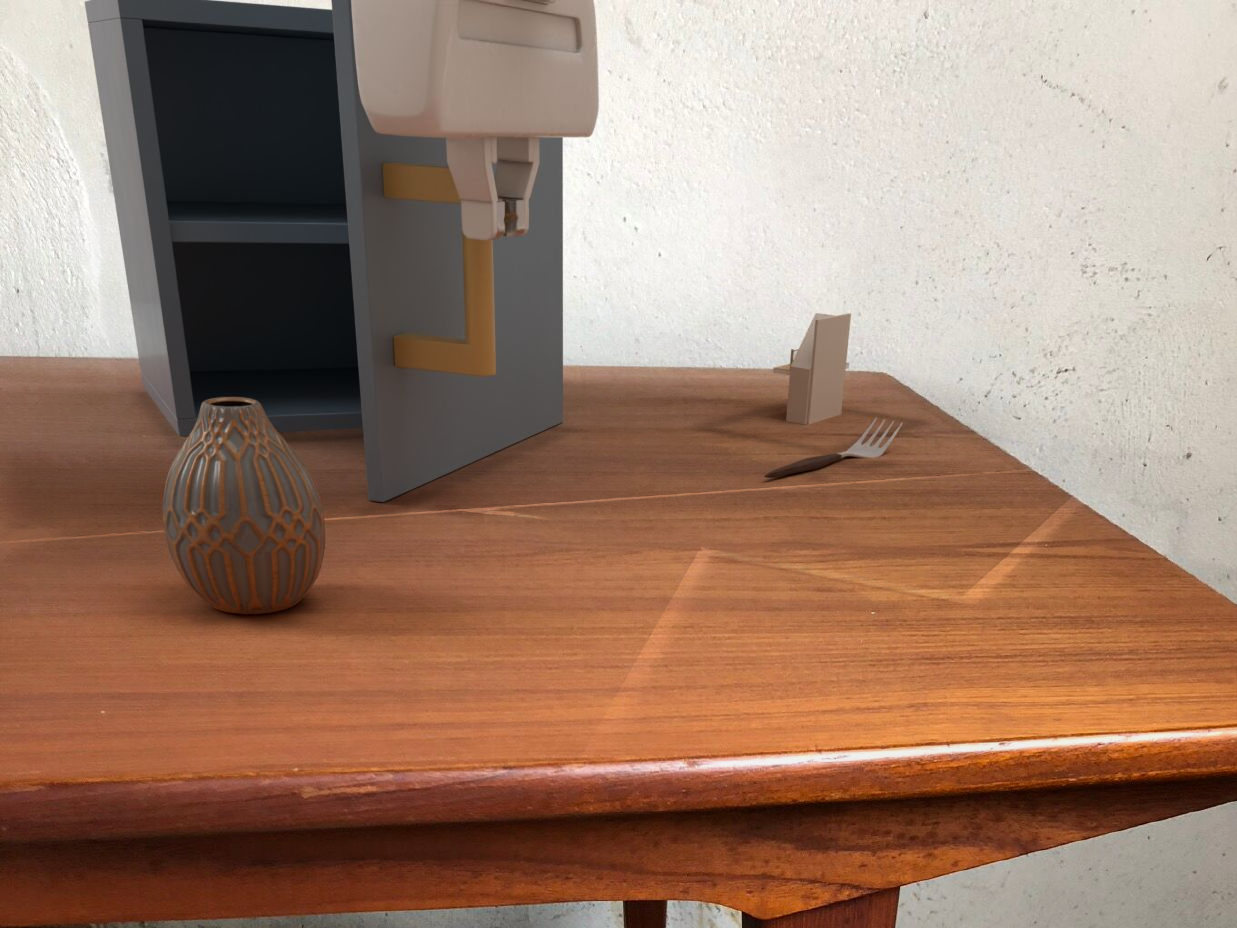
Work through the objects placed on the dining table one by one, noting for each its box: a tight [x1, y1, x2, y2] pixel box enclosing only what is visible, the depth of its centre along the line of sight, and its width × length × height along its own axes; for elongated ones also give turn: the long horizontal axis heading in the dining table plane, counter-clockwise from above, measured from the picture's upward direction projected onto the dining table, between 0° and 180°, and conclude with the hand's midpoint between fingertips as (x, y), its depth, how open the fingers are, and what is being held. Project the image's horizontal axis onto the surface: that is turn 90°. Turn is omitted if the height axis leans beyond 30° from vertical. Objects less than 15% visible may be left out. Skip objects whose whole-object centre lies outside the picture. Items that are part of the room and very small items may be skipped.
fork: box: [763, 417, 904, 479], centre depth 93 cm, size 3×16×2 cm, turn 144°
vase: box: [162, 397, 326, 615], centre depth 61 cm, size 7×7×9 cm
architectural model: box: [772, 312, 852, 425], centre depth 105 cm, size 3×7×7 cm, turn 148°
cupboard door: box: [331, 0, 564, 503], centre depth 82 cm, size 7×26×24 cm, turn 162°
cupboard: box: [84, 0, 363, 438], centre depth 96 cm, size 18×26×24 cm
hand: (496, 237), depth 72 cm, fingers closed on cupboard door, 2 cm apart
